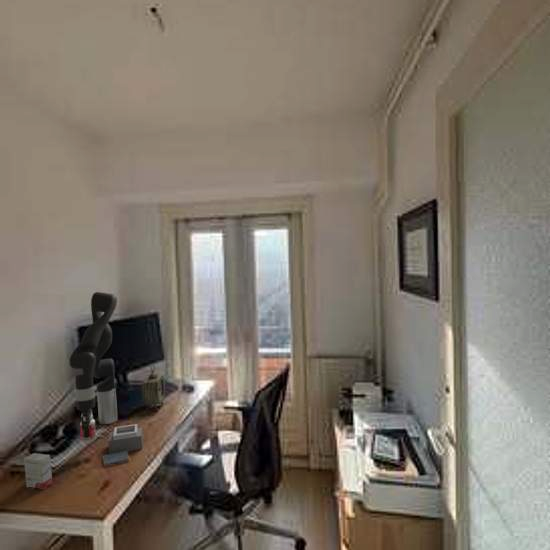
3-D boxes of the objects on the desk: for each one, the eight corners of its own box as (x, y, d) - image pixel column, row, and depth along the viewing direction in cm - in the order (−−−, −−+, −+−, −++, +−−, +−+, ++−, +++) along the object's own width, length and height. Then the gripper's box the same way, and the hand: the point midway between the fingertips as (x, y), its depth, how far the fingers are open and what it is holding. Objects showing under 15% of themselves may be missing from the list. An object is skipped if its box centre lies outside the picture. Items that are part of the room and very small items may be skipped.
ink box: (53, 483, 170) (50, 454, 169) (43, 490, 165) (40, 460, 165) (36, 481, 173) (34, 452, 172) (25, 487, 168) (23, 457, 167)
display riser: (111, 444, 202) (110, 428, 202) (142, 439, 206) (141, 423, 206) (109, 454, 193) (108, 436, 192) (142, 448, 197) (141, 431, 196)
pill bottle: (94, 442, 190) (93, 417, 189) (79, 444, 189) (77, 419, 188) (97, 436, 196) (95, 412, 195) (82, 437, 195) (81, 413, 194)
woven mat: (104, 469, 180) (104, 464, 180) (102, 459, 190) (101, 454, 190) (130, 463, 185) (130, 458, 185) (127, 453, 194) (126, 448, 194)
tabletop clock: (159, 412, 241) (156, 368, 239) (142, 413, 241) (139, 368, 240) (166, 403, 255) (163, 361, 254) (150, 404, 255) (147, 362, 254)
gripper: (92, 401, 185) (95, 439, 186) (96, 390, 199) (99, 426, 200) (73, 404, 183) (76, 442, 184) (78, 393, 197) (81, 429, 198)
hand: (88, 434), depth 192 cm, fingers closed on pill bottle, 6 cm apart
